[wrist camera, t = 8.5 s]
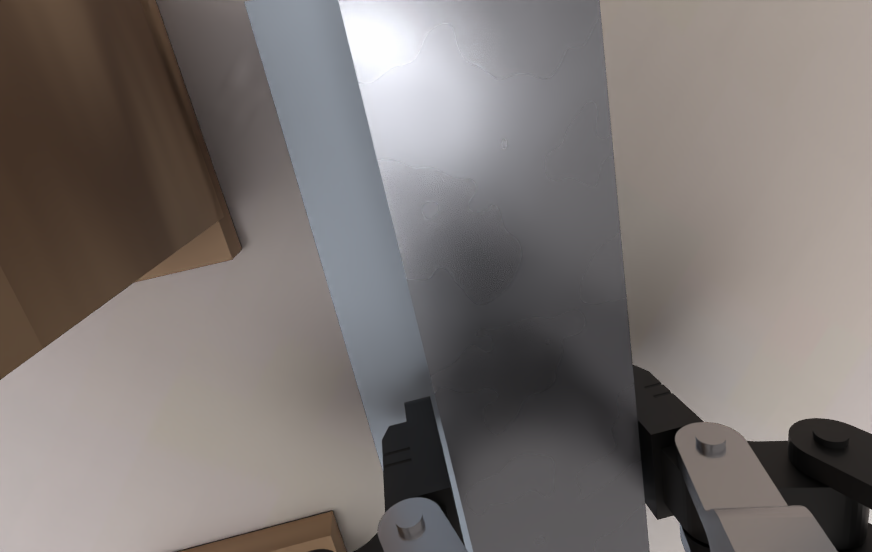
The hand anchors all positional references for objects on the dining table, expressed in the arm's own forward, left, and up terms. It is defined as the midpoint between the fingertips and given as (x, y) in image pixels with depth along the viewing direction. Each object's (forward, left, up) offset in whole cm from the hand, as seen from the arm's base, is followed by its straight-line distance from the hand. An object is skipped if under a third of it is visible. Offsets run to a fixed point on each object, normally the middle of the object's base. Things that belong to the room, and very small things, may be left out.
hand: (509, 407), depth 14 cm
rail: (0, 0, -1) cm, 1 cm away
